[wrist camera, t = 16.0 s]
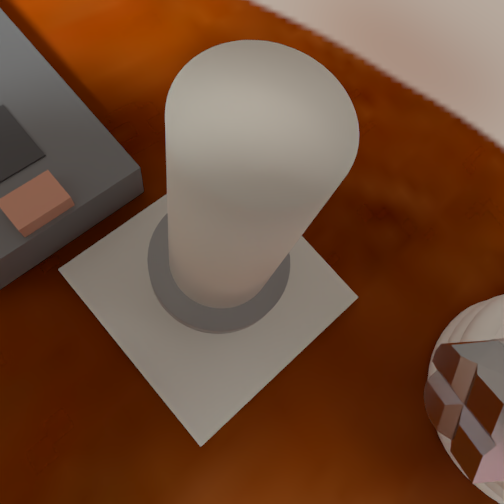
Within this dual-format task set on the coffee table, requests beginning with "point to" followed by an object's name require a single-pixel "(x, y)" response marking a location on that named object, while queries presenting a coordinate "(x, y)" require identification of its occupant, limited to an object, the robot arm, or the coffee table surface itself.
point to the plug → (245, 178)
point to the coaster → (466, 330)
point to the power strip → (51, 160)
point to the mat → (195, 342)
